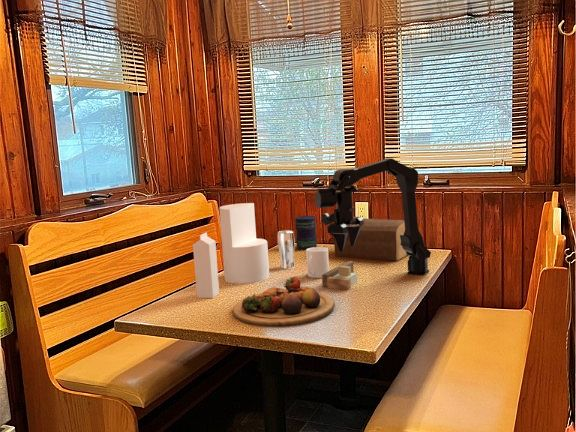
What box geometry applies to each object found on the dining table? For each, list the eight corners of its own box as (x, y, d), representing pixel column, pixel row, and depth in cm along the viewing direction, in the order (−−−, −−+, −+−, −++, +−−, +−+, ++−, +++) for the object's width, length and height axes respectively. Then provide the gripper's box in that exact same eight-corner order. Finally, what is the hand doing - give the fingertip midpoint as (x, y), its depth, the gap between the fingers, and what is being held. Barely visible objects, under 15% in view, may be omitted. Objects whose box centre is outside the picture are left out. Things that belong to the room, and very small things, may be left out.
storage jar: (317, 249, 262) (316, 218, 260) (296, 251, 262) (295, 219, 260) (316, 245, 272) (314, 215, 270) (296, 246, 272) (294, 216, 270)
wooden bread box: (351, 248, 262) (350, 214, 259) (413, 253, 245) (412, 216, 243) (332, 257, 247) (330, 220, 244) (396, 262, 230) (395, 223, 228)
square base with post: (357, 282, 204) (356, 265, 203) (348, 287, 198) (348, 269, 197) (342, 281, 207) (341, 263, 206) (333, 286, 201) (332, 268, 200)
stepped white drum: (215, 281, 215) (210, 209, 211) (240, 270, 230) (235, 202, 226) (254, 285, 207) (249, 209, 203) (277, 273, 222) (273, 203, 218)
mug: (318, 281, 207) (317, 254, 206) (299, 279, 211) (297, 252, 210) (332, 273, 217) (331, 247, 216) (313, 272, 222) (312, 246, 220)
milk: (197, 298, 195) (191, 235, 192) (203, 292, 201) (198, 232, 198) (213, 298, 194) (208, 235, 190) (219, 293, 199) (214, 231, 196)
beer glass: (276, 269, 229) (274, 233, 227) (283, 265, 236) (281, 230, 234) (292, 270, 227) (290, 233, 225) (298, 265, 233) (296, 230, 231)
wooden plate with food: (269, 291, 199) (267, 269, 198) (351, 300, 182) (350, 275, 181) (212, 322, 172) (209, 296, 171) (303, 335, 155) (300, 306, 154)
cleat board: (373, 274, 213) (372, 262, 212) (348, 289, 194) (347, 277, 194) (348, 272, 218) (348, 261, 218) (322, 287, 200) (322, 274, 199)
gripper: (335, 201, 211) (337, 242, 213) (312, 208, 195) (314, 253, 197) (363, 201, 205) (365, 243, 207) (341, 209, 189) (343, 254, 192)
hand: (346, 248), depth 201 cm, fingers open, 9 cm apart
